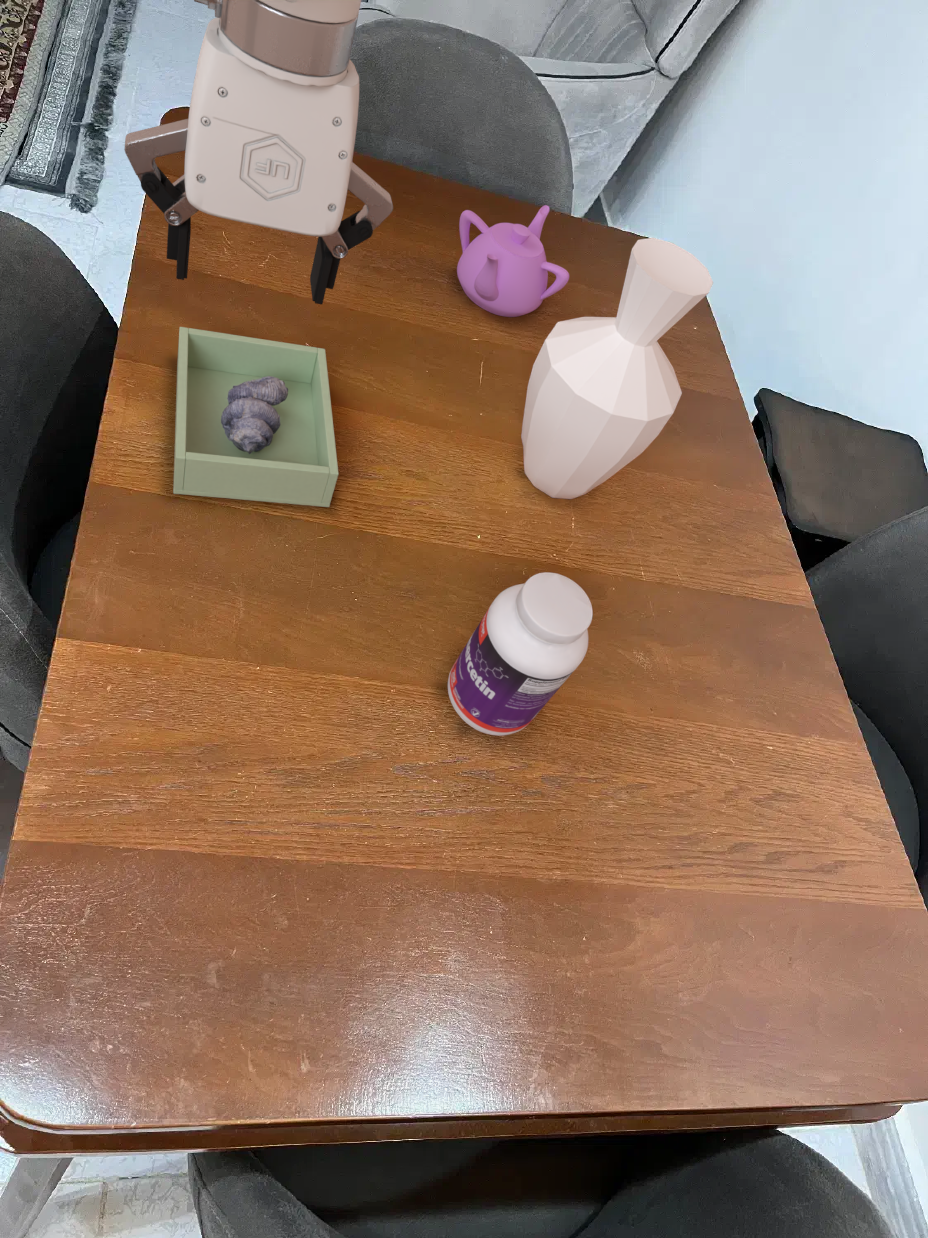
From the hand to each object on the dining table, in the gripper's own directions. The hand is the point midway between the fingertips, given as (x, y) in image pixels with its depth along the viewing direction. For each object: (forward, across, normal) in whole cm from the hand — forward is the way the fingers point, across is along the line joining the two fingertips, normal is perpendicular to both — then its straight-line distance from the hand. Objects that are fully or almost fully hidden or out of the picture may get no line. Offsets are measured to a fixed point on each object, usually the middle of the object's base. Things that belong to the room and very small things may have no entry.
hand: (250, 280), depth 62 cm
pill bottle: (+19, +21, -24) cm, 38 cm away
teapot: (+19, +34, +34) cm, 51 cm away
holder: (+19, +3, +4) cm, 20 cm away
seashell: (+19, +3, +4) cm, 19 cm away
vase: (+19, +35, +4) cm, 40 cm away
